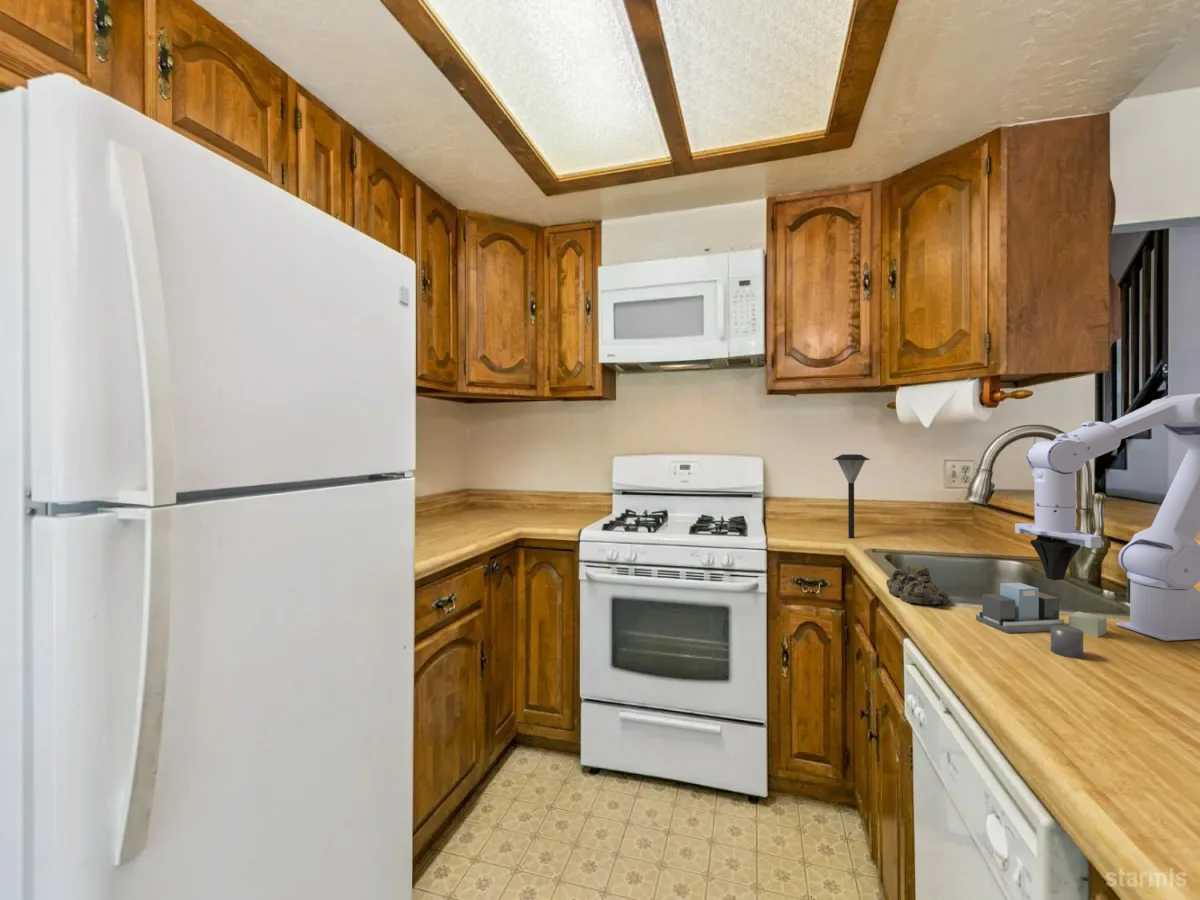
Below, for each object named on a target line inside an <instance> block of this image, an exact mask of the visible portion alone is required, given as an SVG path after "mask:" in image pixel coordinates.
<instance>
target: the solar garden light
mask: <svg viewBox="0 0 1200 900" xmlns="http://www.w3.org/2000/svg"><path fill="white" fill-rule="evenodd" d="M832 461H837V463H838V464H839V467H840V469H841V471H842V473H843V475H844V476H845V479H846V481H847V485H848V487H847V488H848V492H847V493H848V495H847V496H848V497H847V499H848V500H847V501H848V507H847V508H848V509H847V510H848V520H847V521H848V522H847V523H848V527H847V528H848V530H847V531H848V539H851V538H854V539H855V482H856V480H857V478H858V476H859V474H860V472H861V470H862V467H863V465H864V464H865V461H871V459H870V458H868V457H866V456H864V455H862V454H854V453H853V454H852V453H851V454H849V453H845V454H844V453H843V454H840V455H838V456H837V457H835V458H832Z"/></svg>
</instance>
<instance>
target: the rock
mask: <svg viewBox="0 0 1200 900" xmlns="http://www.w3.org/2000/svg"><path fill="white" fill-rule="evenodd" d="M890 575H891V578H888V579H887V580H886V586H887V589H888V593H889V594H890V595H892V596H895V597H899V598H898V599H900V601H901V602H903V603H908V604H918V605H920V606H922V605H932V606H933V605H939V604H941V605H942V604H947V603H948V601H949V598H950V594H948V593H946V592H945V591H944V590H941V589H939V588H938V587H937V585H935V584H934V582H933V581H931V580H932V577H931V575H930V570H929V568H928V567H927V566H923V565H916V566H913V565H908V566H907V569H906V571H903V570H902V568H897V569H896V570H893V571H892V572H891V573H890Z"/></svg>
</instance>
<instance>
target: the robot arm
mask: <svg viewBox="0 0 1200 900" xmlns="http://www.w3.org/2000/svg"><path fill="white" fill-rule="evenodd" d="M1080 426H1081V427H1079V428H1077V429H1074V430H1072V431H1069V432H1067V433H1059V434H1057V435H1055V438H1054V439H1053V440H1043V441H1038V442H1036V443H1034V444H1033V445H1032V447H1031V448H1030V449H1029V451H1028V454H1027V455H1025V456H1024V457H1025V458H1024V459H1025V461H1026V464H1027V465H1028V467H1029V468H1030V469H1031V473H1032V474H1031V475H1032V477H1033V481H1034V482H1033V483H1034V485H1033V486H1034V487H1033V488H1034V490H1033V492H1034V495H1033V496H1034V498H1033V500H1034V501H1033V502H1034V506H1033V507H1034V524H1033V523H1025V522H1021V523H1020V522H1019V523H1018V522H1017V523H1015V524H1014V533H1015V534H1018V535H1028V536H1033V537H1036V538H1035V539H1031V540H1030V544H1031V546H1032V547H1033V548H1034V550H1035V552H1036V554H1037V555H1038V557H1039V559H1040V561H1041V565H1042V567H1043V570H1044V573H1045V576H1046V579H1048V580H1051V581H1063V580H1064V579H1065V576H1066V572H1067V570H1068V568H1069V565H1070V563H1071V561H1072V559H1073V557H1074V556H1075V554H1076V553H1077V552H1078V551H1079V550H1080V549H1081V546H1082V547H1083V546H1084V547H1085V548H1088V549H1089V548H1090V549H1096V548H1097V549H1098V548H1099V549H1100V548H1102V536H1100V535H1095V534H1092V533H1091V534H1090V533H1087V532H1083V531H1080V530H1077V511H1076V509H1077V505H1076V503H1077V501H1076V495H1077V492H1076V489H1077V488H1076V487H1077V485H1076V483H1077V482H1076V481H1077V479H1076V472H1078V471H1080V470H1081V469H1082V468H1083V466H1084V465H1085V463H1086V462H1088V461H1091V460H1092V459H1095V458H1098V457H1100V456H1103V455H1105V454H1108V453H1110V452H1111V451H1115V450H1116V449H1118V448H1119V447H1120V445H1121V441H1122V439H1123V440H1124V439H1126V438H1128V437H1131V436H1134V435H1137V434H1140V433H1143V432H1145V431H1148V430H1150V429H1153V428H1157V427H1159V426H1161V427H1163V428H1164V429H1165V430H1166V431H1167V432H1168V433H1170V434H1171V435H1172V436H1173V437H1174V438H1175V439H1176V440H1178V442H1181V443H1183V444H1184V446H1185V447H1186V448H1187V452H1186V453H1185V456H1184V457H1183V460H1182V461H1181V464H1180V466H1179V468H1178V470H1177V472H1176V474H1175V476H1174V479H1173V481H1172V483H1171V484H1170V487H1169V488H1168V491H1167V493H1166V494H1165V495H1166V496H1165V498H1164V499H1163V501H1162V503H1161V505H1160V508H1159V509H1158V512H1157V514H1156V516H1155V518H1154V520H1153V522H1152V524H1151V526H1149V527H1148V528H1145V529H1144V530H1140V531H1139V532H1136V533H1134V534H1133V536H1132V538H1131V540H1130V541H1129V542H1128V543H1126V544H1125V545H1124V546H1123V547H1122V548H1121V549H1120V550H1119V553H1118V556H1117V559H1118V561H1117V562H1118V565H1119V566H1120V568H1121V569H1122V570H1123V571H1124V572H1125V573H1126V577H1127V579H1129V581H1130V582H1129V587H1130V590H1129V591H1130V592H1129V593H1130V594H1129V598H1130V599H1129V603H1130V604H1129V621H1120V622H1119V621H1118V622H1115V624H1116V626H1118V627H1122V628H1124V629H1128V630H1130V631H1131V630H1132V631H1134V632H1137V633H1140V634H1143V635H1146V636H1149V637H1152V638H1155V639H1158V640H1161V641H1165V642H1166V641H1171V642H1172V641H1184V640H1185V641H1188V640H1200V590H1198V589H1197V588H1196V587H1194V586H1196V585H1198V584H1199V582H1200V544H1199V543H1198V541H1196V537H1197V534H1198V533H1199V531H1200V393H1190V394H1187V393H1186V394H1169V395H1165V396H1164V397H1161V398H1158V399H1154V400H1152V401H1151V402H1150V403H1148V404H1146V405H1144V406H1142V407H1140V408H1138V409H1135V410H1134V411H1131V412H1129V413H1127V414H1125V415H1123V416H1121V417H1118V418H1117V419H1115V420H1112V421H1110V422H1108V423H1107V422H1103V421H1093V420H1092V421H1091V420H1090V421H1085V422H1082V423H1081V424H1080Z"/></svg>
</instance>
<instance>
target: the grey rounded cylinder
mask: <svg viewBox="0 0 1200 900" xmlns="http://www.w3.org/2000/svg"><path fill="white" fill-rule="evenodd" d="M1050 652H1052V653H1053V654H1055V655H1057V656H1060V657H1064V658H1069V659H1083V658H1084V634H1083V631H1081V630H1079V629H1076V628H1073V627H1069V625H1067V626H1062V625H1053V626H1051V631H1050Z"/></svg>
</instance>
